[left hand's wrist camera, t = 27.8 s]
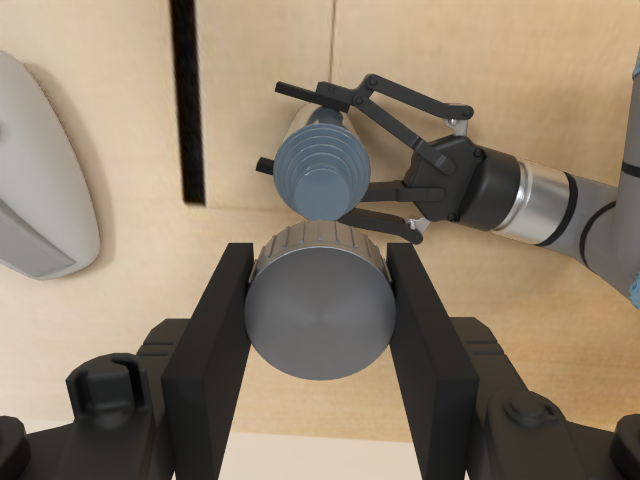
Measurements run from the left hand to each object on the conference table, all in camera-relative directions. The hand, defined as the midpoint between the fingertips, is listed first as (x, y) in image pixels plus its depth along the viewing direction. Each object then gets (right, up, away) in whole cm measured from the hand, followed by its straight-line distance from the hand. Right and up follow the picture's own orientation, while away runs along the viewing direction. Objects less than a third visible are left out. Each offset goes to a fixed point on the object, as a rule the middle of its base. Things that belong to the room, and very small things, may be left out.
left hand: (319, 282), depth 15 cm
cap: (0, -1, -2) cm, 2 cm away
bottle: (0, +13, +33) cm, 35 cm away
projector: (-32, +9, +35) cm, 48 cm away
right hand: (-5, +12, +27) cm, 29 cm away
